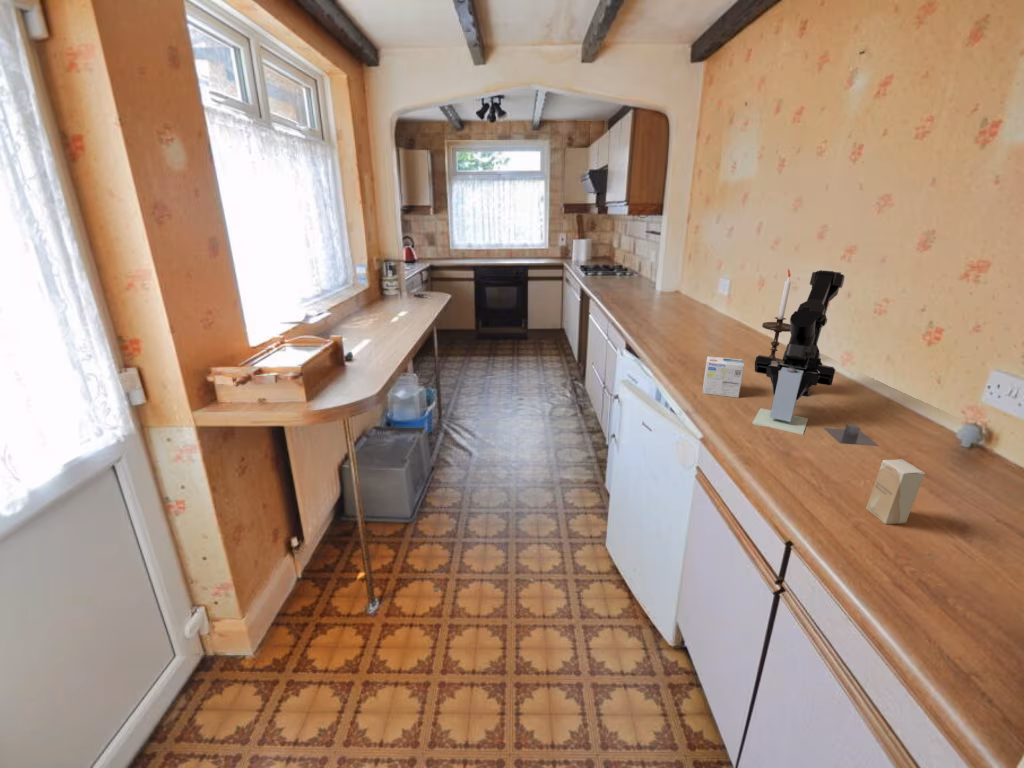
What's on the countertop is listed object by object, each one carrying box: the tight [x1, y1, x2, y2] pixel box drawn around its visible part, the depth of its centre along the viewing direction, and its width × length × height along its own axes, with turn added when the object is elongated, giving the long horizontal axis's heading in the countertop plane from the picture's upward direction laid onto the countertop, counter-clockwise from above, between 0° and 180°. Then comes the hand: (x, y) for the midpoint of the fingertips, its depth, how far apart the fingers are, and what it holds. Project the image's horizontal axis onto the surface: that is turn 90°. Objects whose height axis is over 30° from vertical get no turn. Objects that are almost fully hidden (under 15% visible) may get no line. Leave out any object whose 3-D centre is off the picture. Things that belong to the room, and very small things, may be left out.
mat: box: [751, 407, 809, 436], centre depth 132 cm, size 12×12×1 cm
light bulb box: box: [702, 355, 745, 398], centre depth 152 cm, size 11×7×11 cm, turn 71°
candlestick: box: [761, 268, 792, 364], centre depth 178 cm, size 11×11×35 cm
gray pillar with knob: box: [770, 367, 803, 422], centre depth 129 cm, size 5×5×14 cm
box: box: [865, 458, 926, 525], centre depth 91 cm, size 5×4×11 cm
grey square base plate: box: [823, 423, 880, 447], centre depth 123 cm, size 9×9×3 cm
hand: (785, 397), depth 129 cm, fingers closed on gray pillar with knob, 5 cm apart
